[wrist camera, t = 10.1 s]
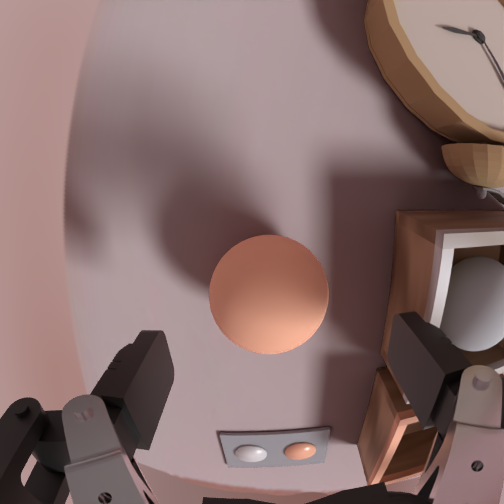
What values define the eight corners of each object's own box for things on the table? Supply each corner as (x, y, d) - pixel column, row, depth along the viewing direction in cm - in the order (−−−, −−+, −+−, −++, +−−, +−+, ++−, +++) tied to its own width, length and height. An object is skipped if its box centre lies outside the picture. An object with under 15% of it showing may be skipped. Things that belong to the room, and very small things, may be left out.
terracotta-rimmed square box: (376, 369, 17) (400, 420, 12) (478, 346, 16) (509, 382, 12) (357, 445, 20) (368, 488, 15) (445, 422, 19) (464, 457, 15)
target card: (219, 432, 19) (219, 437, 18) (329, 426, 19) (330, 431, 18) (228, 464, 20) (228, 469, 20) (323, 459, 20) (324, 464, 20)
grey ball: (426, 246, 14) (480, 283, 9) (489, 242, 14) (544, 272, 9) (414, 327, 15) (452, 380, 11) (474, 315, 15) (516, 357, 10)
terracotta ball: (212, 226, 14) (189, 262, 10) (317, 220, 14) (344, 252, 9) (223, 318, 16) (209, 380, 11) (316, 312, 16) (336, 373, 11)
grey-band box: (395, 210, 14) (444, 233, 9) (506, 210, 13) (556, 229, 9) (380, 353, 16) (406, 404, 12) (482, 331, 16) (517, 366, 12)
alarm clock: (468, -51, 6) (597, 167, 7) (443, -15, 11) (551, 169, 12) (325, -41, 8) (508, 260, 9) (318, 14, 13) (455, 244, 14)
